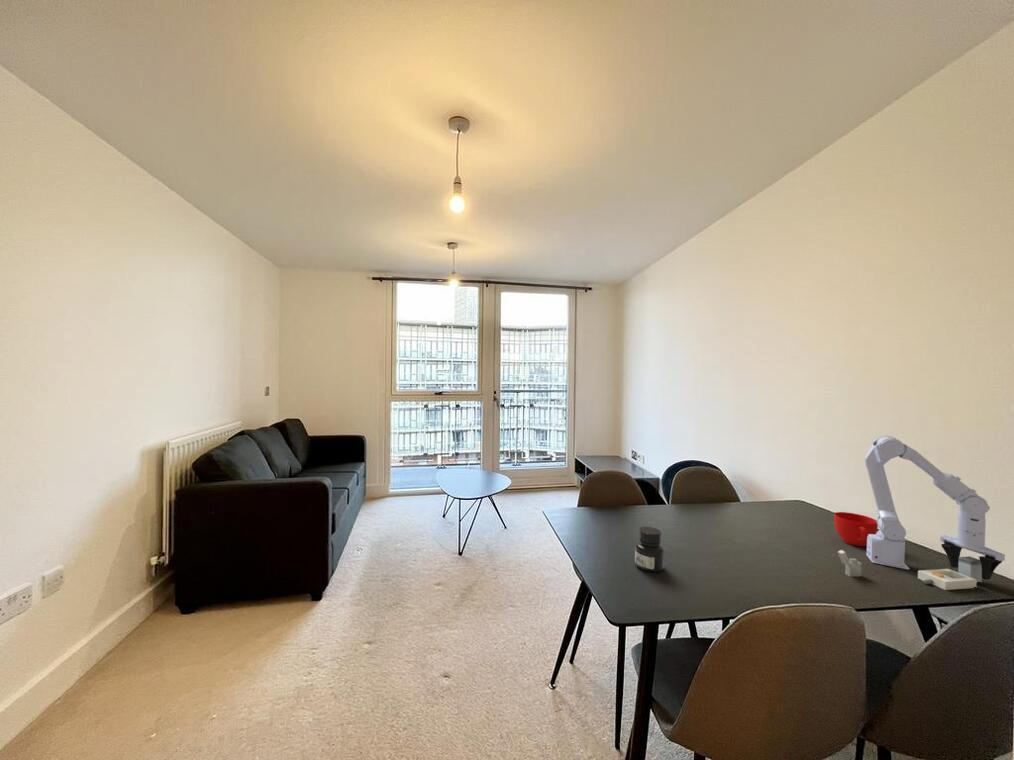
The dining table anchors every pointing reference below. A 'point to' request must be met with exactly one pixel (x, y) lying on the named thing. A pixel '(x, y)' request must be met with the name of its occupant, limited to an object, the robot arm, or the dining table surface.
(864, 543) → the ceramic cup
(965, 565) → the plug
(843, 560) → the lighter
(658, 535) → the ink bottle
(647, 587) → the dining table surface
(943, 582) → the white rectangular frame
